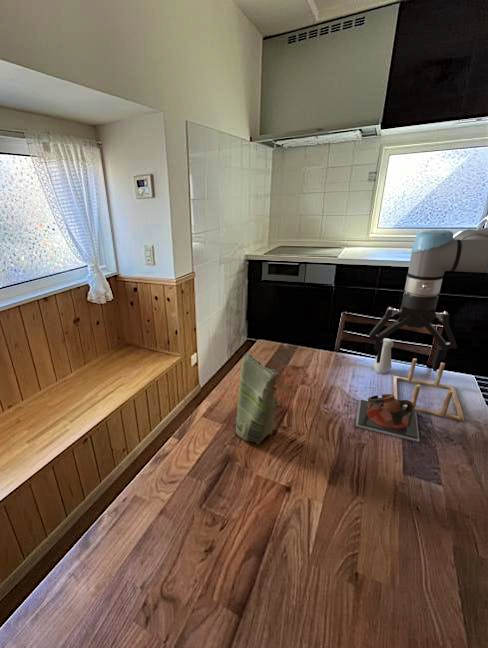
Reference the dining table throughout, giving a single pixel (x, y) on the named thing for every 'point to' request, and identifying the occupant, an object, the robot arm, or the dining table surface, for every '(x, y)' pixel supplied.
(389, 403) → the pottery mug
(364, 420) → the hob
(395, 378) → the drying rack
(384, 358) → the salt shaker
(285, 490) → the dining table surface
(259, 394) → the pouch
